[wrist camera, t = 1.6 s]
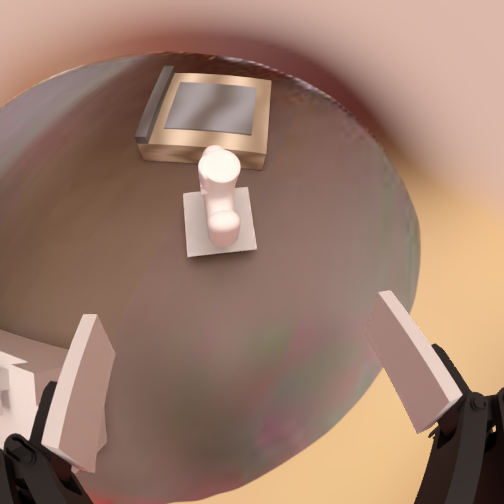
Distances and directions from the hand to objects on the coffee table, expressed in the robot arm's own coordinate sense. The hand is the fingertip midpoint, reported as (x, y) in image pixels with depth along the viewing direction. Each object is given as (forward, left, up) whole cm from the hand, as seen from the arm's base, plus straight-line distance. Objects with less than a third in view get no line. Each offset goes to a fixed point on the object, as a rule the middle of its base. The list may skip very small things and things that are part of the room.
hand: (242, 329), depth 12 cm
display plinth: (-6, +27, -19) cm, 34 cm away
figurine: (-2, +11, -19) cm, 22 cm away
